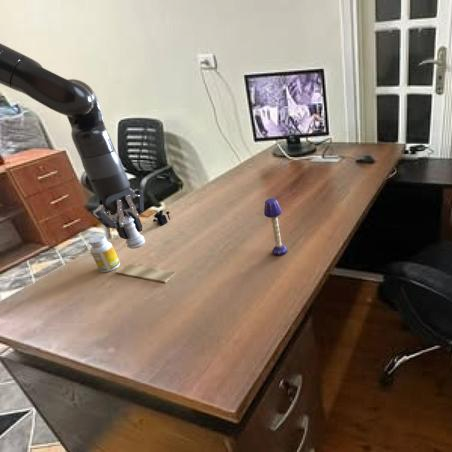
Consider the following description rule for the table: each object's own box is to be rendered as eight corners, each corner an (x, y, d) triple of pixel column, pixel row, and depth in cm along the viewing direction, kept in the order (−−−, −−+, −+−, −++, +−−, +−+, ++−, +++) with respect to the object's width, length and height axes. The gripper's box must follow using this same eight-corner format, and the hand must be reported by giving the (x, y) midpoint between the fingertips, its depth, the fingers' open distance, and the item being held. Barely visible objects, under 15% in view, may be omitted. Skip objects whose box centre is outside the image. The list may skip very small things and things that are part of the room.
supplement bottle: (99, 275, 98) (84, 246, 94) (101, 265, 103) (86, 237, 98) (120, 268, 100) (106, 240, 95) (121, 259, 104) (108, 232, 100)
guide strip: (115, 273, 98) (115, 271, 98) (127, 265, 101) (126, 263, 101) (165, 283, 92) (164, 281, 92) (176, 274, 95) (175, 272, 95)
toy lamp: (291, 250, 101) (282, 197, 93) (281, 258, 98) (271, 205, 89) (279, 246, 103) (269, 195, 95) (268, 254, 100) (257, 202, 92)
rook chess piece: (134, 250, 89) (122, 223, 85) (124, 247, 91) (112, 220, 87) (149, 242, 92) (139, 215, 88) (139, 238, 94) (128, 212, 90)
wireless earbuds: (157, 229, 120) (152, 216, 117) (152, 228, 121) (147, 215, 118) (173, 219, 125) (168, 207, 123) (168, 219, 126) (163, 206, 124)
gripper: (119, 161, 89) (142, 220, 97) (66, 182, 77) (98, 247, 86) (141, 162, 86) (163, 223, 95) (90, 184, 75) (120, 251, 83)
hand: (132, 234), depth 90 cm, fingers closed on rook chess piece, 3 cm apart
